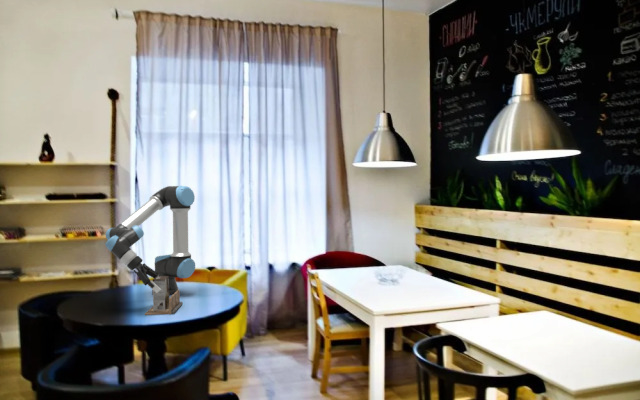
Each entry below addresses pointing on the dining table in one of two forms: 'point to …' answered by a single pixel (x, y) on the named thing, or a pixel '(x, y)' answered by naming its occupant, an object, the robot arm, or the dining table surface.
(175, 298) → the hinge bracket
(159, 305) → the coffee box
